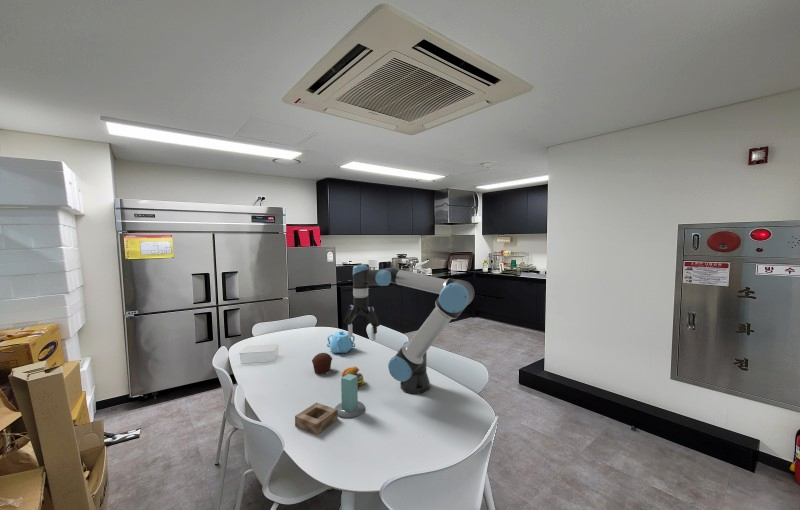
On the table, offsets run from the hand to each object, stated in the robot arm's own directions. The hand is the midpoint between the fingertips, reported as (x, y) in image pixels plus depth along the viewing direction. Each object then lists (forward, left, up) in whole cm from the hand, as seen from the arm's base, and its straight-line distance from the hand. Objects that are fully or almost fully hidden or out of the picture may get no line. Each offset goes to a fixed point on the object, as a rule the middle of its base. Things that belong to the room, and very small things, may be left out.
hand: (361, 338), depth 153 cm
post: (-6, +18, -25) cm, 32 cm away
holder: (0, +32, -26) cm, 41 cm away
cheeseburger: (+8, -2, -26) cm, 28 cm away
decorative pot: (+46, -38, -26) cm, 65 cm away
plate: (-6, +18, -26) cm, 32 cm away
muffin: (+34, -7, -26) cm, 43 cm away
